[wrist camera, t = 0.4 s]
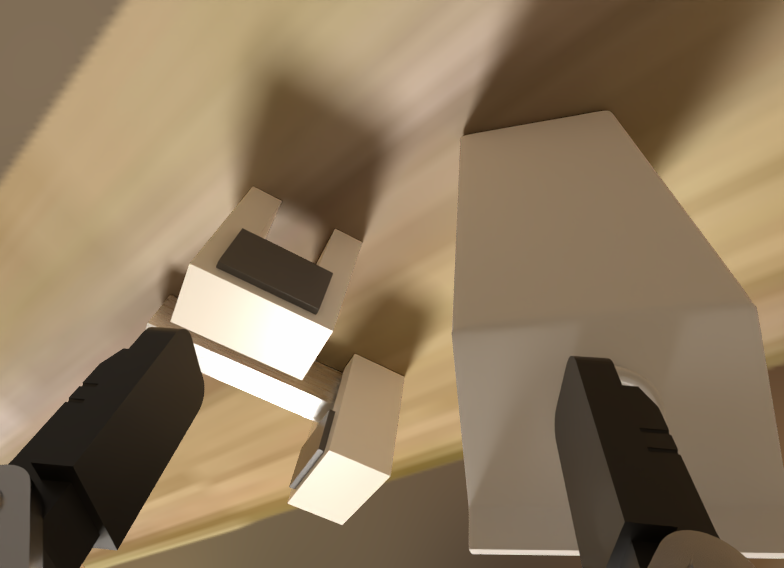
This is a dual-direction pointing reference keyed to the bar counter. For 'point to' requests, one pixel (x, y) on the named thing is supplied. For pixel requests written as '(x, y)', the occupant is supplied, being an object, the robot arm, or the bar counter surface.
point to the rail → (260, 373)
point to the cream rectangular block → (265, 289)
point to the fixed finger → (350, 443)
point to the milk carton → (598, 332)
